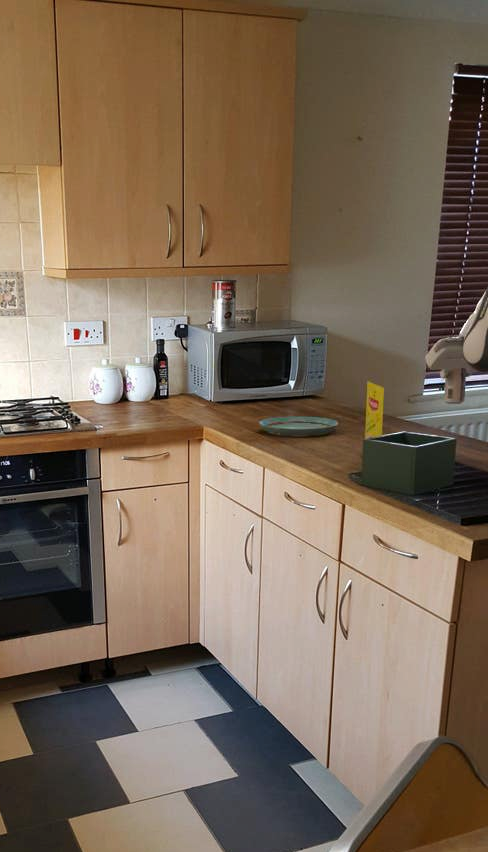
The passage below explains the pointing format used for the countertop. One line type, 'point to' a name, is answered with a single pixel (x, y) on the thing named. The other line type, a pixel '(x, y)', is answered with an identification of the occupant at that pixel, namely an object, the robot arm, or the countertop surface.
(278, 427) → the saucer
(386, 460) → the waste bin
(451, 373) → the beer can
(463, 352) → the robot arm
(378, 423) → the food package
